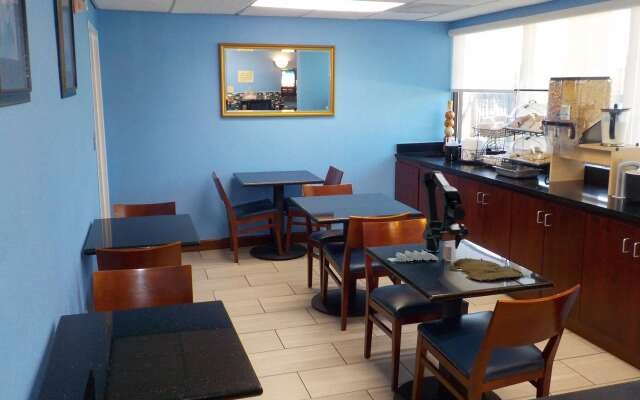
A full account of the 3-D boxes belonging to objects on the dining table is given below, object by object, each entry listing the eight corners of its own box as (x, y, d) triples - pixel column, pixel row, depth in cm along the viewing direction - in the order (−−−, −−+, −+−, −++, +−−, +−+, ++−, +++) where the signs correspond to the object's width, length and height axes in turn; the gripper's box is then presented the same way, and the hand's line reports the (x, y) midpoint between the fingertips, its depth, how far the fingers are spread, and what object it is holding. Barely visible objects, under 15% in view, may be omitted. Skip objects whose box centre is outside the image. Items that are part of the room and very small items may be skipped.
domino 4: (424, 259, 272) (412, 253, 270) (426, 256, 272) (414, 249, 270) (428, 262, 268) (416, 255, 266) (430, 258, 268) (418, 252, 266)
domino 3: (416, 259, 271) (404, 253, 269) (418, 256, 271) (406, 250, 269) (420, 262, 267) (407, 255, 265) (422, 258, 267) (409, 252, 265)
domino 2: (408, 260, 270) (395, 255, 268) (410, 256, 270) (397, 251, 268) (412, 262, 266) (398, 257, 264) (413, 258, 266) (400, 254, 264)
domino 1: (401, 261, 269) (387, 261, 268) (402, 257, 269) (387, 258, 268) (405, 264, 265) (390, 264, 264) (405, 260, 265) (390, 260, 263)
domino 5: (432, 259, 273) (420, 253, 271) (434, 255, 273) (422, 249, 271) (436, 261, 268) (424, 255, 267) (438, 258, 268) (426, 252, 267)
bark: (537, 270, 246) (481, 277, 234) (536, 279, 247) (481, 286, 234) (492, 254, 271) (440, 260, 258) (492, 262, 272) (439, 268, 259)
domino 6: (443, 259, 273) (443, 244, 272) (446, 259, 274) (447, 244, 272) (447, 261, 269) (448, 247, 268) (450, 261, 269) (451, 247, 268)
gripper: (437, 220, 259) (435, 254, 261) (475, 219, 263) (473, 252, 265) (427, 215, 269) (425, 248, 272) (464, 214, 274) (462, 247, 276)
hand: (447, 249), depth 271 cm, fingers open, 9 cm apart
